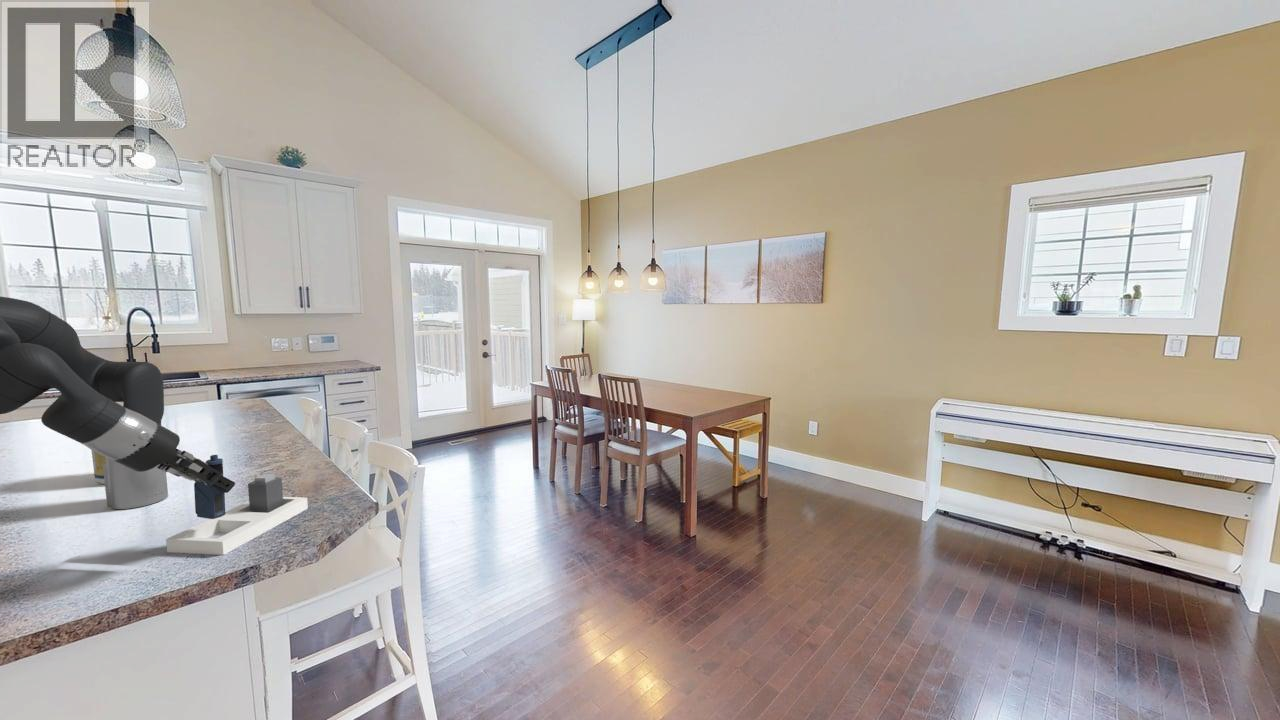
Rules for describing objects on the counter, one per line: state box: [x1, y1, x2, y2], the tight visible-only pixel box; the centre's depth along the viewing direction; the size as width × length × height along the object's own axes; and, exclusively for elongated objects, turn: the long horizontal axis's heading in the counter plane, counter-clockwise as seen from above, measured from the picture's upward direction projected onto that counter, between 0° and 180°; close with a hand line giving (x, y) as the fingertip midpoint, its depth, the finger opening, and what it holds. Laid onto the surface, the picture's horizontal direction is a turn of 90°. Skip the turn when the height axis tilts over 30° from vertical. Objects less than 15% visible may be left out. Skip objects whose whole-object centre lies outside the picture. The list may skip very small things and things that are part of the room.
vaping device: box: [193, 454, 226, 520], centre depth 88 cm, size 3×5×12 cm, turn 79°
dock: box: [165, 496, 309, 556], centre depth 95 cm, size 20×11×4 cm, turn 177°
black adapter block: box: [247, 473, 284, 513], centre depth 100 cm, size 4×4×9 cm
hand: (221, 485), depth 89 cm, fingers closed on vaping device, 5 cm apart
